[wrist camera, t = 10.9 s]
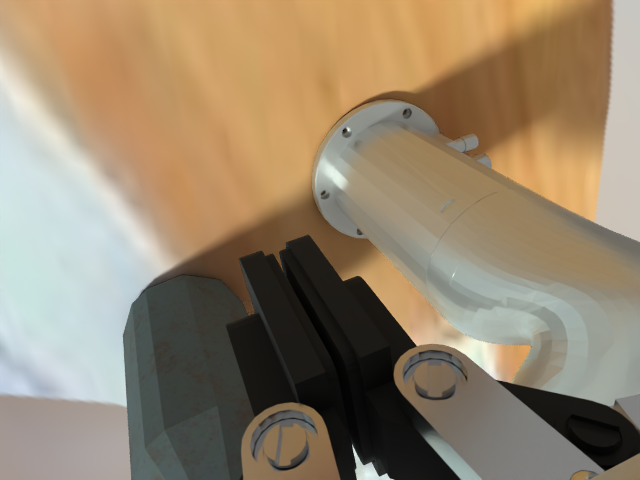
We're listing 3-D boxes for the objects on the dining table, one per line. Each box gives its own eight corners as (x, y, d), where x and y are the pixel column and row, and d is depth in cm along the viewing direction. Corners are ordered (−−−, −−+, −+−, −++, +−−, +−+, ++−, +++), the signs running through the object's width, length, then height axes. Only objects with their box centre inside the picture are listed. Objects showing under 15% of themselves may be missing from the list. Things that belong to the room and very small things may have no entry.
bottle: (150, 378, 45) (208, 874, 20) (101, 301, 39) (102, 853, 15) (254, 333, 47) (419, 735, 22) (222, 253, 41) (394, 672, 17)
